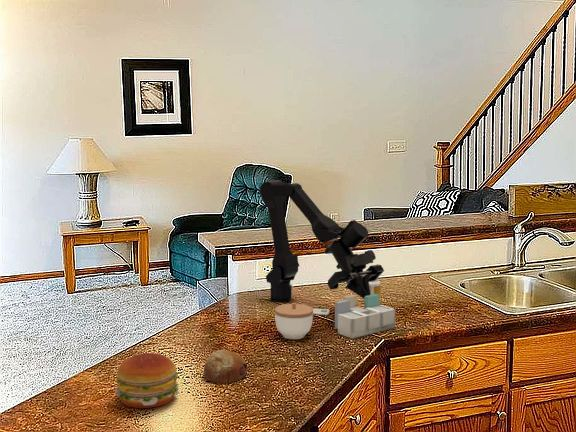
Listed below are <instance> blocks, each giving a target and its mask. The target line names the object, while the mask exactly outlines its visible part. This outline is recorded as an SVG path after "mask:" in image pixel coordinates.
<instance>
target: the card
mask: <svg viewBox="0 0 576 432" xmlns="http://www.w3.org/2000/svg"><path fill="white" fill-rule="evenodd" d="M329 313H330V309H328V308H313V315H315V314H316V315H319V316H329Z"/></svg>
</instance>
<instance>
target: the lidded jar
mask: <svg viewBox="0 0 576 432" xmlns="http://www.w3.org/2000/svg"><path fill="white" fill-rule="evenodd" d="M313 309H314V308H313V307H312V306H310V305H306V304H301V303H296V302H292V303H285V304H281V305H278V306H276V307H275V308H274V317H275V318H274V320H275V321H274V322H275V325H276V328H277V330H278V332H279V333H280V334H281V335H282V337H283V338H284V339H288V340H300V339H303V338H305V336H306V335H307V334H308V333H309V332H310V330H311V328H312V325H313V321H314V320H313V319H314V314H313Z"/></svg>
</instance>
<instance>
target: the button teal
mask: <svg viewBox="0 0 576 432" xmlns="http://www.w3.org/2000/svg"><path fill="white" fill-rule="evenodd" d="M363 305H364V306H363V307H364V308H363V309H365V308H368V307H369V308H372V309H375V310H379V311H385V310H390V309H387V308H383V307H380V306H379V305H380V304H379V295H378V294H372V295H368V296H365V302H363Z"/></svg>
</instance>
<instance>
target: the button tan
mask: <svg viewBox="0 0 576 432" xmlns="http://www.w3.org/2000/svg"><path fill="white" fill-rule="evenodd" d="M342 300H350V312H351V311H357V312H360V313H363V314H366V315H368V314H369V310H366V309H364V308H363V307H359V306H358V294H348V295H345V296H342Z"/></svg>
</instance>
